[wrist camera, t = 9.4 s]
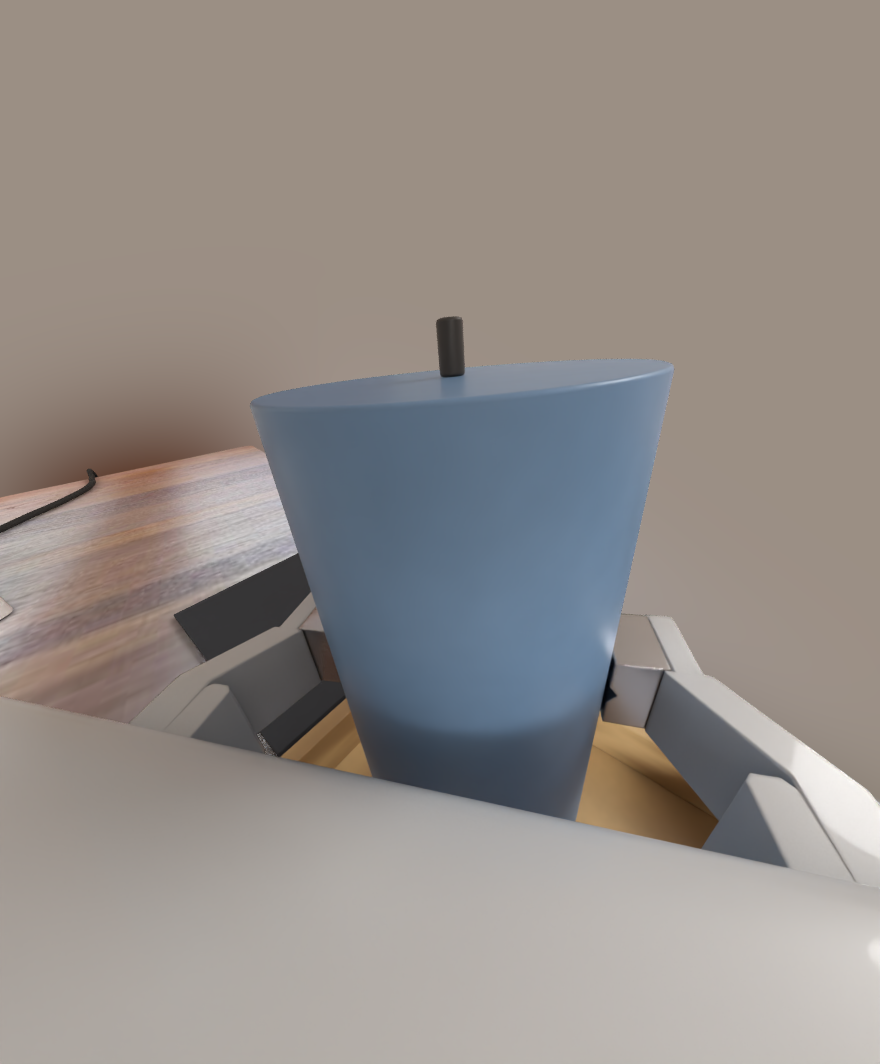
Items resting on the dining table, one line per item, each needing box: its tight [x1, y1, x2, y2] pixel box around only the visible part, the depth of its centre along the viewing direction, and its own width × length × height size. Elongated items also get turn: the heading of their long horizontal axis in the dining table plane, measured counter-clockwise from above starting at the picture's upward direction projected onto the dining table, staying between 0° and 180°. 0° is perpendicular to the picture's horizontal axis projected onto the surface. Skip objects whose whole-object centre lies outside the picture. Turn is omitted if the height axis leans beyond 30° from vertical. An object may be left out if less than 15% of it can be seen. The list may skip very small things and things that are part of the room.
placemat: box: [174, 553, 346, 757], centre depth 27 cm, size 18×14×1 cm
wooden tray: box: [281, 699, 719, 849], centre depth 13 cm, size 16×14×3 cm
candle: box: [250, 317, 674, 822], centre depth 8 cm, size 6×6×14 cm
